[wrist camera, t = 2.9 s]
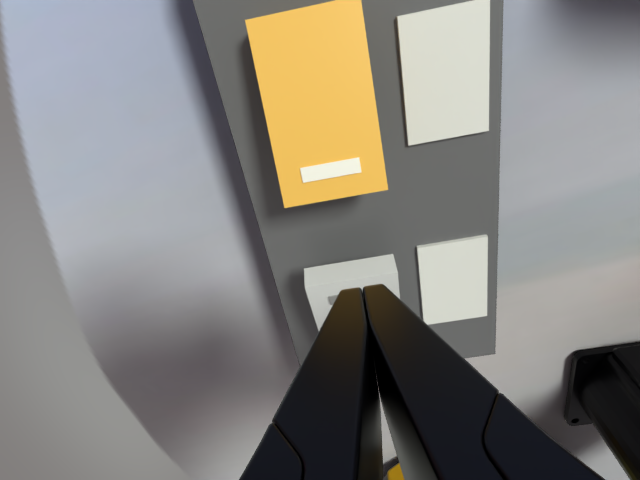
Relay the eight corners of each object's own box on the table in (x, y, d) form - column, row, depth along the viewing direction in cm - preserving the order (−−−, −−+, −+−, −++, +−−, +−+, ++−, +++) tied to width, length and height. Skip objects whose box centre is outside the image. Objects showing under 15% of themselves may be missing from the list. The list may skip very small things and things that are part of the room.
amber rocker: (384, 185, 15) (388, 190, 14) (287, 202, 15) (284, 208, 14) (358, 4, 14) (360, -6, 13) (251, 26, 14) (244, 19, 13)
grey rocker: (400, 337, 21) (404, 356, 20) (328, 348, 21) (329, 367, 20) (393, 253, 17) (398, 273, 16) (304, 268, 17) (304, 288, 16)
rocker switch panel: (475, 316, 24) (499, 361, 21) (305, 341, 25) (304, 388, 22) (472, -130, 14) (514, -167, 11) (194, -65, 15) (164, -82, 12)
